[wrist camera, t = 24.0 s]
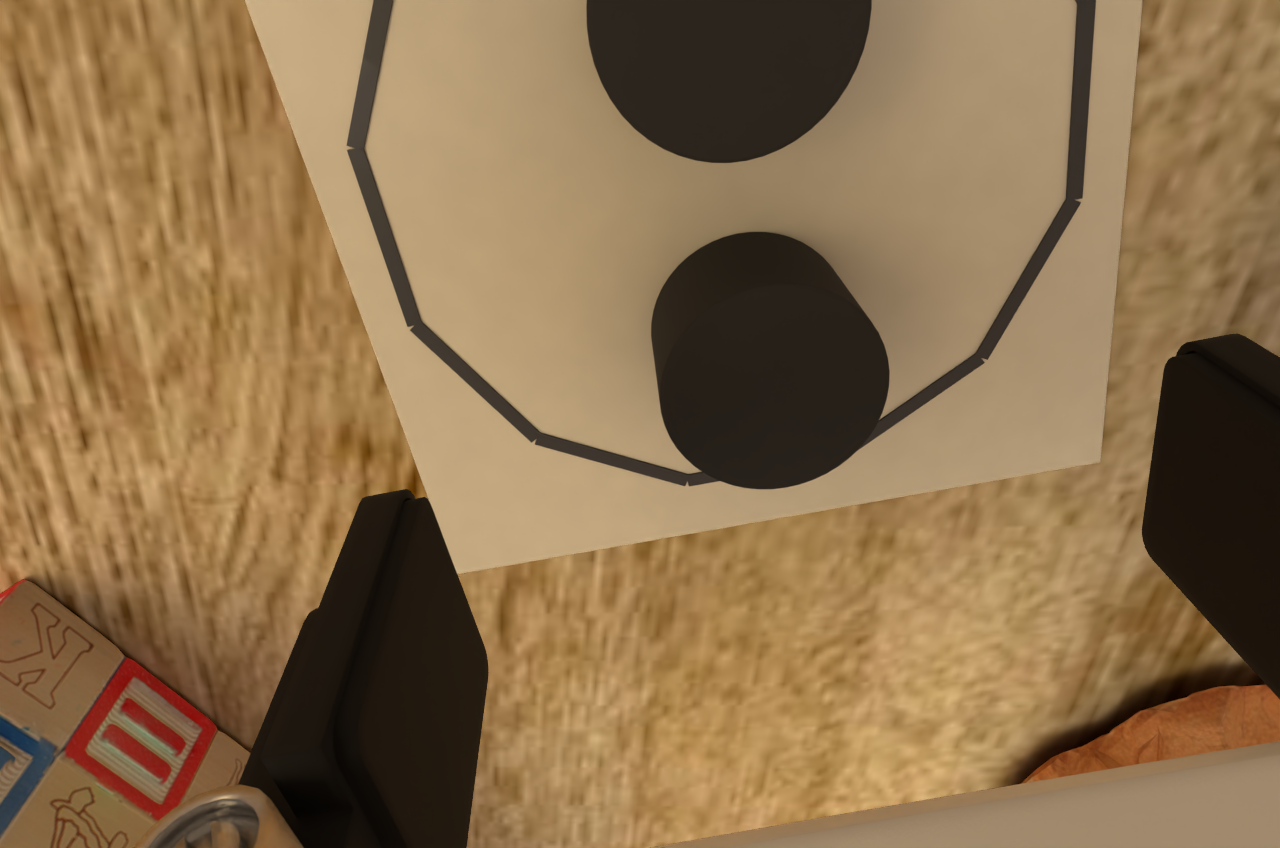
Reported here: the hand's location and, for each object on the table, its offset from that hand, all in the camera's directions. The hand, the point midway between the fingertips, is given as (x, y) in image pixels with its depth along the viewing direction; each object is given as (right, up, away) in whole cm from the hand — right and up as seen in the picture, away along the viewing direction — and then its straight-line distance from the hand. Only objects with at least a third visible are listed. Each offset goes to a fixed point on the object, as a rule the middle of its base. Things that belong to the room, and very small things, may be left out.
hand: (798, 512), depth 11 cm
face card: (-1, +6, +5) cm, 8 cm away
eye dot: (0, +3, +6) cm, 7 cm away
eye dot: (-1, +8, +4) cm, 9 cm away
